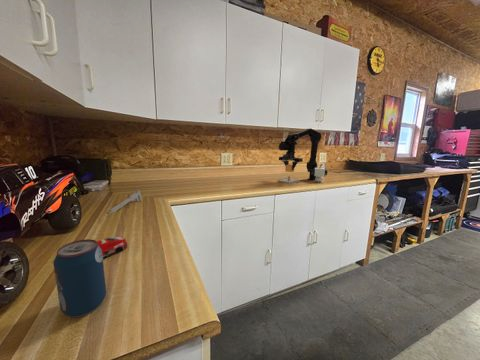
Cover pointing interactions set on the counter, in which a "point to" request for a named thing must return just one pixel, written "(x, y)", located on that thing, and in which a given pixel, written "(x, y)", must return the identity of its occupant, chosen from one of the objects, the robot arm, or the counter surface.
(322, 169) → the pneumatic valve
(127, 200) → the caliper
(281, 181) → the junction plate
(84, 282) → the soda can
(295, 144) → the robot arm
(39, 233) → the counter surface
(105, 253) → the race car
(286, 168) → the wire nut cap
